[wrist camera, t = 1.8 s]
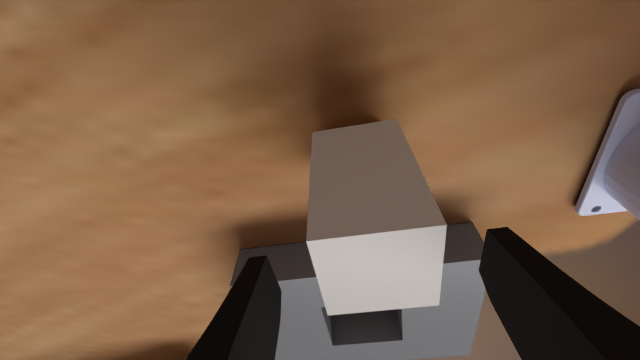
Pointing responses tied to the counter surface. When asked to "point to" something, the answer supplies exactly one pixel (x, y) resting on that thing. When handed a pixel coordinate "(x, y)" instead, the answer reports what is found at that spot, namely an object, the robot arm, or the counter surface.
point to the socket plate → (377, 326)
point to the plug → (372, 221)
